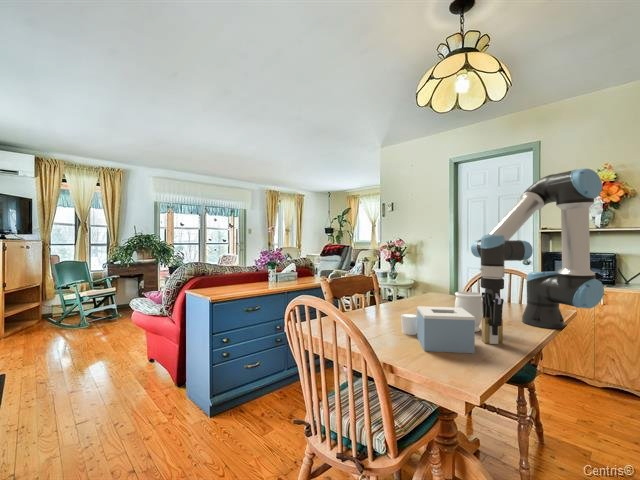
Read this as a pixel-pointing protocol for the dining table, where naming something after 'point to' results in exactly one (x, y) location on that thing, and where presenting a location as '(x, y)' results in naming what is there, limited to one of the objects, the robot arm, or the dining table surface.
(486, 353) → the dining table surface
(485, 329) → the wooden rectangular block
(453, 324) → the box
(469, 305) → the jar
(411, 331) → the white cylinder
